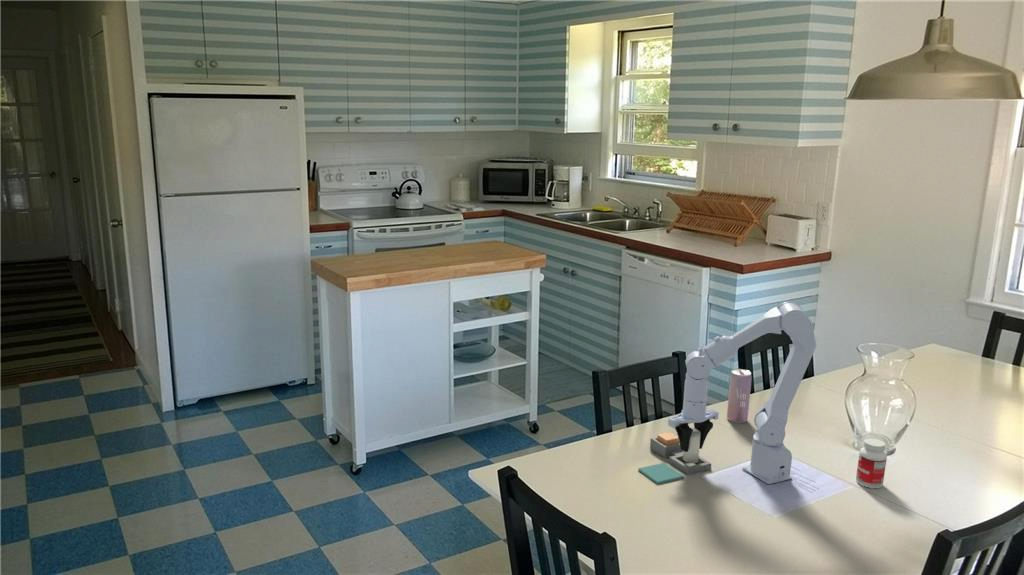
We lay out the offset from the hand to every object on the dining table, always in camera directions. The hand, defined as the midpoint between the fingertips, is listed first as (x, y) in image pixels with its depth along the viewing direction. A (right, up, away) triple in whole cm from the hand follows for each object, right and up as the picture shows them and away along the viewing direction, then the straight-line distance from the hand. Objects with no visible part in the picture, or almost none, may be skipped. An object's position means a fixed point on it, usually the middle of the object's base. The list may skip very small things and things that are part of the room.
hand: (691, 448), depth 198 cm
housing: (-2, -4, +5) cm, 7 cm away
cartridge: (0, -3, +1) cm, 3 cm away
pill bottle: (+43, -8, -6) cm, 44 cm away
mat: (-9, -6, -4) cm, 11 cm away
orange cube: (-4, -2, +9) cm, 10 cm away
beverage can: (+21, +2, +32) cm, 38 cm away
